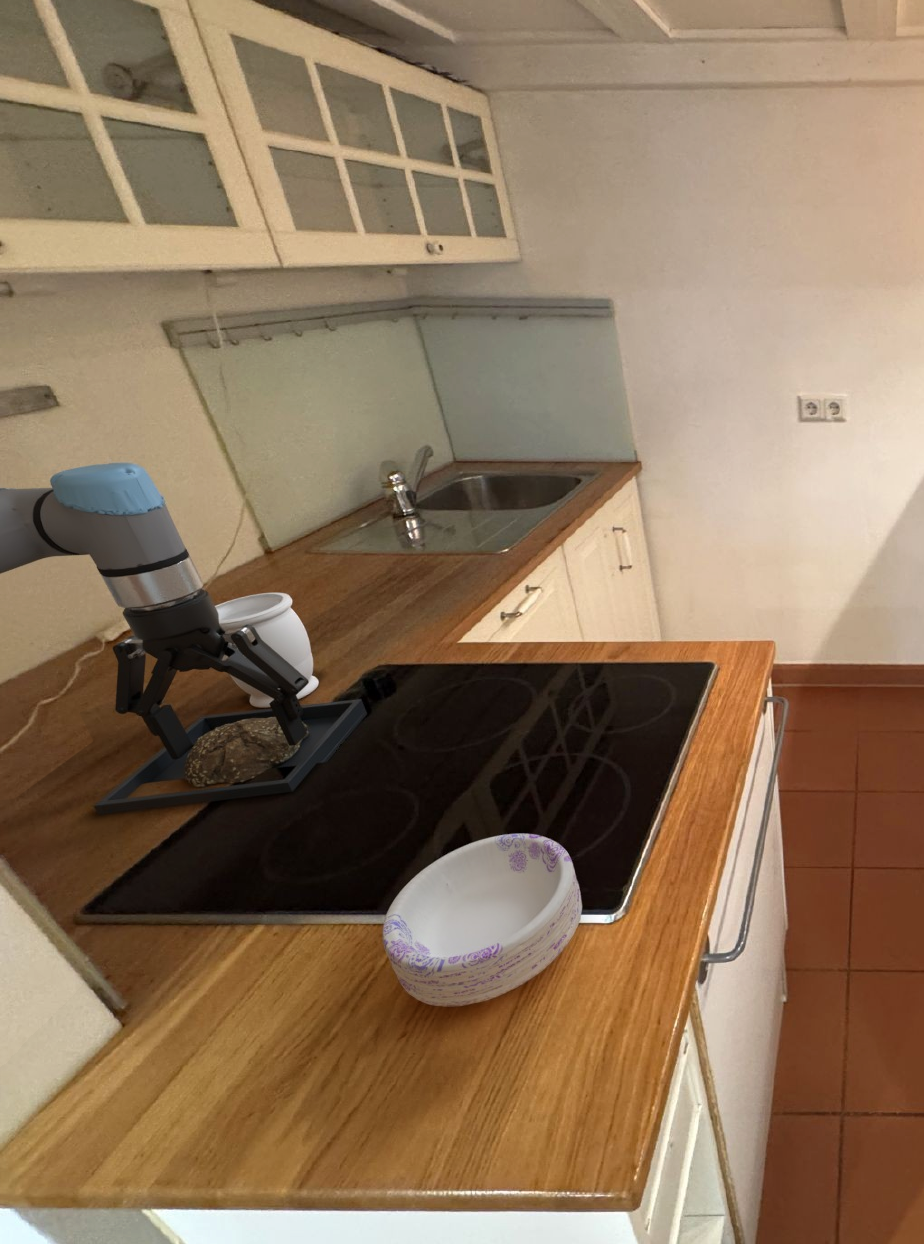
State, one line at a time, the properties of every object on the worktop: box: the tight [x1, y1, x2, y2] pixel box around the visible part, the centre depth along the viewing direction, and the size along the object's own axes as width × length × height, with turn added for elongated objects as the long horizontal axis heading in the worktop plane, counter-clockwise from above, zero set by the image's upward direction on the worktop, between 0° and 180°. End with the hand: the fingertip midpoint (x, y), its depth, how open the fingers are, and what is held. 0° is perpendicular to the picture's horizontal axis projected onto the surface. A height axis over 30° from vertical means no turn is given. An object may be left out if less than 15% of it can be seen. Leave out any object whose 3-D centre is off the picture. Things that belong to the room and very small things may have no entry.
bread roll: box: [185, 717, 309, 789], centre depth 90 cm, size 13×12×5 cm
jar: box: [215, 592, 320, 709], centre depth 104 cm, size 11×10×15 cm
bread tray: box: [93, 698, 368, 816], centre depth 91 cm, size 21×19×3 cm
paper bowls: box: [382, 833, 583, 1007], centre depth 63 cm, size 15×15×8 cm
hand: (241, 746), depth 90 cm, fingers open, 13 cm apart
